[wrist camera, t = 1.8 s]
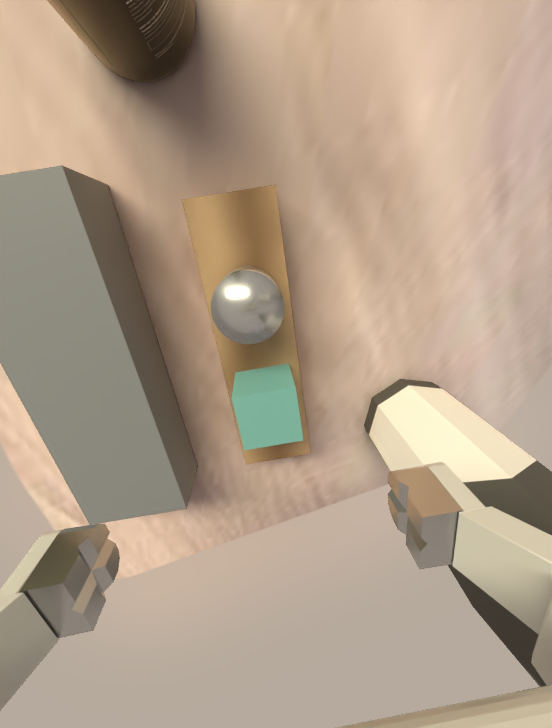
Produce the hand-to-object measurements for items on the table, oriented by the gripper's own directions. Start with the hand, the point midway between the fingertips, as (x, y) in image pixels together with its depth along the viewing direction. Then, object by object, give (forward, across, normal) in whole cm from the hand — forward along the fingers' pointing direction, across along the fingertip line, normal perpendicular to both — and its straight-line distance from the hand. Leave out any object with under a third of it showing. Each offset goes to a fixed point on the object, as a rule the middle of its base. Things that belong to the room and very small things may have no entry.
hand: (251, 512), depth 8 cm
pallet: (+17, -1, 0) cm, 17 cm away
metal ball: (+14, -1, -4) cm, 14 cm away
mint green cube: (+14, -1, +3) cm, 14 cm away
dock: (+17, +11, 0) cm, 21 cm away
